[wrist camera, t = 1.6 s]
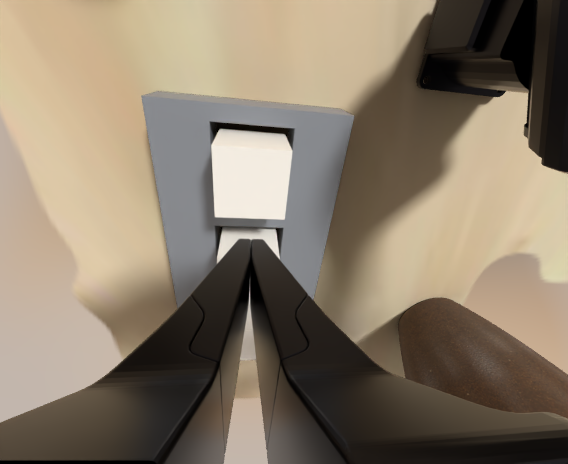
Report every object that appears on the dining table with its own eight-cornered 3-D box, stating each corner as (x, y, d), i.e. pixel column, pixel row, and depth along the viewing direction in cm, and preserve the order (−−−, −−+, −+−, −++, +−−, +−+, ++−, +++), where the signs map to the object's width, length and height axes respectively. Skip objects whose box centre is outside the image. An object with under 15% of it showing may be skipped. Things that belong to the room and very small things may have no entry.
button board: (340, 108, 18) (354, 116, 16) (300, 313, 29) (305, 337, 27) (158, 91, 17) (141, 95, 14) (189, 315, 28) (182, 340, 25)
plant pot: (396, 266, 27) (540, 467, 13) (516, 275, 29) (736, 451, 16) (352, 353, 35) (415, 536, 21) (450, 354, 37) (561, 518, 24)
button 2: (284, 133, 17) (292, 151, 13) (278, 191, 19) (284, 219, 15) (220, 128, 16) (211, 145, 13) (221, 189, 18) (214, 217, 15)
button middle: (275, 227, 20) (279, 259, 17) (271, 267, 22) (275, 303, 19) (222, 226, 20) (216, 258, 16) (224, 266, 22) (218, 303, 18)
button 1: (269, 292, 24) (272, 329, 21) (266, 321, 26) (268, 359, 23) (224, 292, 23) (220, 330, 20) (225, 322, 26) (221, 361, 22)
